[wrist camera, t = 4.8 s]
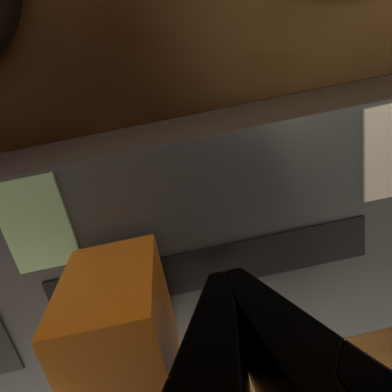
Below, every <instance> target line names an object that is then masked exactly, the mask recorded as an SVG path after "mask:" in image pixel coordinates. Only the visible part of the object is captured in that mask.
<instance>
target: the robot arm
mask: <svg viewBox="0 0 392 392" xmlns="http://www.w3.org/2000/svg"><path fill="white" fill-rule="evenodd" d="M248 373H249V375H248ZM249 376H250V378H251V381H252V383H253V386H254V388H255V391H256V392H392V370H391V369H390V368H388V367H386V366H385V365H383V364H382V363H380V362H379V361H377V360H376V359H374V358H373V357H371V356H369V355H368V354H366V353H365V352H363V351H362V350H360V349H359V348H357V347H356V346H355V345H353V344H352V343H350V342H349V341H347V340H345V341H344V338H343V337H341V336H340V335H338V334H337V333H336V332H334V331H333V330H331V329H330V328H328V327H327V326H325V325H324V324H323V323H321V322H320V321H318V320H317V319H315V318H314V317H312V316H311V315H310V314H308V313H307V312H305V311H304V310H302V309H301V308H299V307H298V306H296V305H295V304H294V303H292V302H291V301H289V300H288V299H286V298H285V297H283V296H282V295H281V294H279V293H278V292H276V291H275V290H273V289H272V288H270V287H269V286H268V285H266V284H265V283H263V282H262V281H260V280H259V279H257V278H256V277H255V276H253V275H252V274H250V273H249V272H247V271H246V270H244V269H243V268H235V269H230V270H226V271H221V272H216V273H211V274H209V275H208V277H207V280H206V282H205V285H204V287H203V290H202V292H201V295H200V297H199V300H198V302H197V305H196V307H195V310H194V312H193V315H192V317H191V320H190V322H189V325H188V327H187V330H186V332H185V335H184V337H183V339H182V342H181V344H180V347H179V349H178V352H177V354H176V357H175V359H174V362H173V364H172V367H171V369H170V372H169V374H168V379H166V381H165V384H164V386H163V389H162V391H161V392H251V390H250V382H249Z"/></svg>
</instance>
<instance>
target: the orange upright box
mask: <svg viewBox="0 0 392 392" xmlns="http://www.w3.org/2000/svg"><path fill="white" fill-rule="evenodd" d="M31 345H32V348H33V350H34V352H35V354H36V356H37V358H38V360H39V363H40V365H41V367H42V369H43V371H44V373H45V376H46V378H47V380H48V382H49V384H50V386H51V388H52V391H53V392H161V391H162V389H163V386H164V384H165V381H166V379H168V374H169V372H170V369H171V367H172V364H173V362H174V359H175V357H176V354H177V352H178V349H179V347H180V346H179V331H178V326H177V322H176V318H175V314H174V310H173V307H172V303H171V299H170V295H169V291H168V287H167V283H166V279H165V275H164V271H163V268H162V264H161V260H160V256H159V252H158V248H157V244H156V240H155V236H154V234H150V235H146V236H141V237H136V238H131V239H126V240H122V241H117V242H112V243H107V244H102V245H98V246H93V247H88V248H83V249H78V250H74V251H72V253H71V255H70V257H69V259H68V262H67V264H66V266H65V268H64V270H63V273H62V275H61V277H60V279H59V281H58V284H57V286H56V288H55V290H54V292H53V295H52V297H51V299H50V301H49V303H48V306H47V308H46V310H45V312H44V314H43V317H42V319H41V321H40V323H39V325H38V328H37V330H36V332H35V334H34V337H33V339H32V341H31Z"/></svg>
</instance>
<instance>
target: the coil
mask: <svg viewBox="0 0 392 392" xmlns="http://www.w3.org/2000/svg"><path fill="white" fill-rule="evenodd" d="M21 6H22V0H0V53H1V52H2V51H3V50H4V49H5V47H6V46H7V45H8V43H9V42H10V40H11V38H12V37H13V35H14V33H15V30H16V28H17V25H18V22H19V18H20V14H21Z"/></svg>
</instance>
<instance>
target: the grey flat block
mask: <svg viewBox="0 0 392 392" xmlns="http://www.w3.org/2000/svg"><path fill="white" fill-rule="evenodd" d="M150 234H154V236H155V240H156V244H157V248H158V252H159V256H160V260H161V264H162V268H163V271H164V275H165V279H166V283H167V287H168V291H169V295H170V299H171V303H172V307H173V310H174V314H175V318H176V322H177V326H178V331H179V346H180V344H181V342H182V339H183V337H184V335H185V332H186V330H187V327H188V325H189V322H190V320H191V317H192V315H193V312H194V310H195V307H196V305H197V302H198V300H199V297H200V295H201V292H202V290H203V287H204V285H205V282H206V280H207V277H208V275H209V274H211V273H216V272H221V271H226V270H230V269H235V268H243V269H244V270H246V271H247V272H249V273H250V274H252V275H253V276H255V277H256V278H257V279H259V280H260V281H262V282H263V283H265V284H266V285H268V286H269V287H270V288H272V289H273V290H275V291H276V292H278V293H279V294H281V295H282V296H283V297H285V298H286V299H288V300H289V301H291V302H292V303H294V304H295V305H296V306H298V307H299V308H301V309H302V310H304V311H305V312H307V313H308V314H310V315H311V316H312V317H314V318H315V319H317V320H318V321H320V322H321V323H323V324H324V325H325V326H327V327H328V328H330V329H331V330H333V331H334V332H336V333H337V334H338V335H340V336H341V337H343V338H344V337H349V336H353V335H358V334H363V333H367V332H372V331H376V330H381V329H386V328H390V327H392V74H390V75H385V76H380V77H375V78H370V79H366V80H361V81H356V82H351V83H346V84H341V85H336V86H331V87H326V88H321V89H316V90H311V91H306V92H301V93H296V94H291V95H286V96H281V97H276V98H271V99H266V100H261V101H256V102H251V103H246V104H241V105H236V106H231V107H226V108H221V109H216V110H212V111H207V112H202V113H197V114H192V115H187V116H182V117H177V118H172V119H167V120H162V121H157V122H152V123H147V124H142V125H137V126H132V127H127V128H122V129H117V130H112V131H107V132H102V133H97V134H92V135H87V136H82V137H77V138H72V139H67V140H62V141H57V142H53V143H48V144H43V145H38V146H33V147H28V148H23V149H18V150H13V151H8V152H3V153H0V392H53V391H52V388H51V386H50V384H49V382H48V380H47V378H46V376H45V373H44V371H43V369H42V367H41V365H40V363H39V360H38V358H37V356H36V354H35V352H34V350H33V348H32V345H31V341H32V339H33V337H34V334H35V332H36V330H37V328H38V325H39V323H40V321H41V319H42V317H43V314H44V312H45V310H46V308H47V306H48V303H49V301H50V299H51V297H52V295H53V292H54V290H55V288H56V286H57V284H58V281H59V279H60V277H61V275H62V273H63V270H64V268H65V266H66V264H67V262H68V259H69V257H70V255H71V253H72V251H74V250H78V249H83V248H88V247H93V246H98V245H102V244H107V243H112V242H117V241H122V240H126V239H131V238H136V237H141V236H146V235H150Z"/></svg>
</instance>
